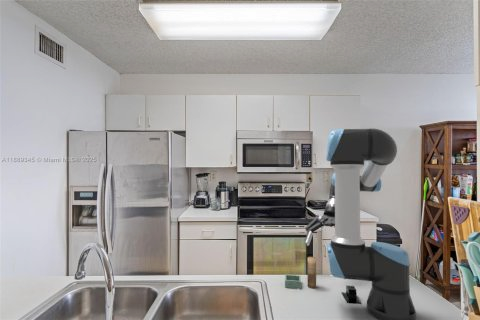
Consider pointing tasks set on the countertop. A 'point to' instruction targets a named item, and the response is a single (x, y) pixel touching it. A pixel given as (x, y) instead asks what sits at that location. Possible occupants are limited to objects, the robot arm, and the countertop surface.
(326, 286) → the countertop surface
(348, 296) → the black blocky piece
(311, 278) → the block
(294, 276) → the cradle
